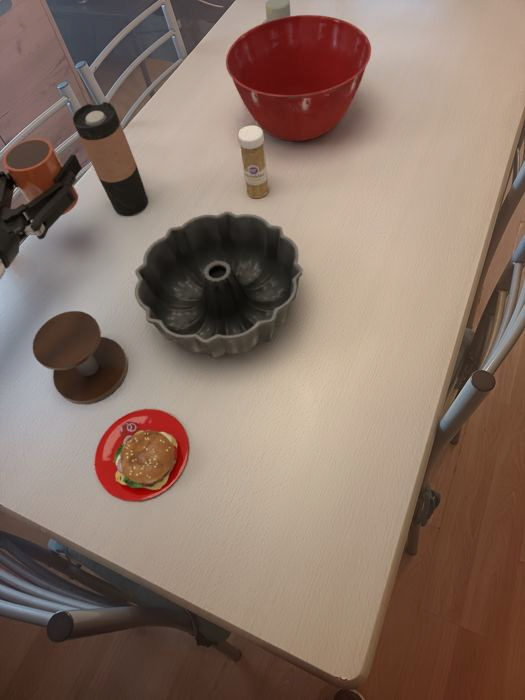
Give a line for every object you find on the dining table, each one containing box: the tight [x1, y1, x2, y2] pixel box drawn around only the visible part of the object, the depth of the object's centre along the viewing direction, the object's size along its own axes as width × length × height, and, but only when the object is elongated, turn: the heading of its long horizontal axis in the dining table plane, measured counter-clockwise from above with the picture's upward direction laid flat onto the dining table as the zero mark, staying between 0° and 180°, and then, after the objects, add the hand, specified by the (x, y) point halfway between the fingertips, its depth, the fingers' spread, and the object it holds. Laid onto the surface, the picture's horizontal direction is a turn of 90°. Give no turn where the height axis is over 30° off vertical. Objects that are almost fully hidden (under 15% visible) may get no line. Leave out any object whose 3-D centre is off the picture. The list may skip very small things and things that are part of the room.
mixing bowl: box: [225, 14, 372, 142], centre depth 104 cm, size 28×28×16 cm
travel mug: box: [72, 101, 149, 217], centre depth 94 cm, size 8×8×20 cm
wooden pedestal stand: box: [32, 310, 129, 405], centre depth 78 cm, size 12×12×10 cm
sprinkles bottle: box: [237, 124, 270, 199], centre depth 95 cm, size 5×5×13 cm
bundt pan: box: [134, 210, 304, 360], centre depth 82 cm, size 26×26×10 cm
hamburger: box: [94, 408, 190, 502], centre depth 71 cm, size 14×14×6 cm
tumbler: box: [2, 138, 79, 216], centre depth 85 cm, size 8×8×10 cm
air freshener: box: [261, 0, 291, 24], centre depth 124 cm, size 11×8×10 cm
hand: (54, 159), depth 87 cm, fingers closed on tumbler, 8 cm apart
